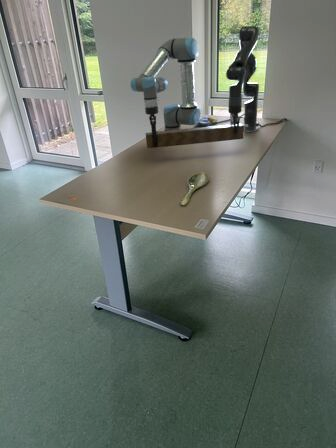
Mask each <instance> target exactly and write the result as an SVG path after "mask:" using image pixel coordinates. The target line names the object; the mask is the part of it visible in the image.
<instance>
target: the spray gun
mask: <svg viewBox="0 0 336 448" xmlns="http://www.w3.org/2000/svg"><path fill="white" fill-rule="evenodd" d="M215 122H218V119H217V118H216V117H214V116H213V117H212V116H211V117H210V116H208V115H207V116H201V117H200V119H199V121H198V123H197V124H196V125H195V126H197V127H200V126H203V127H211V126H212V125H211V123H215Z"/></svg>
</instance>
